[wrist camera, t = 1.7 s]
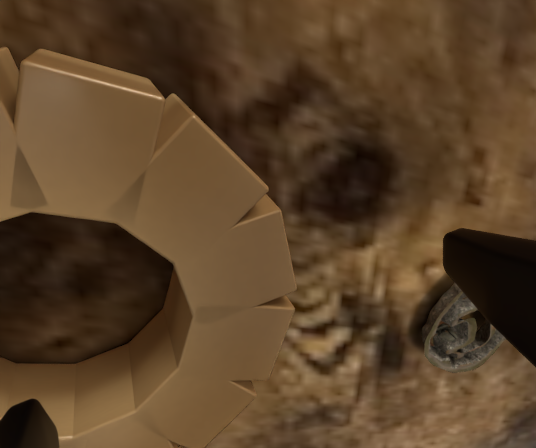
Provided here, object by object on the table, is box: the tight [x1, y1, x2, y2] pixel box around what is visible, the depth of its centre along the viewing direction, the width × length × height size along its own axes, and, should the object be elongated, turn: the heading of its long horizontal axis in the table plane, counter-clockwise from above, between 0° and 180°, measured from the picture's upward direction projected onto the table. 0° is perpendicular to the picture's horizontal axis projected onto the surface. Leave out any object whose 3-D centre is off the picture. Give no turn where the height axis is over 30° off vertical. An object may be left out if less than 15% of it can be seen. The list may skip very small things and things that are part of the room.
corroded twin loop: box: [422, 283, 506, 373], centre depth 19 cm, size 5×8×1 cm, turn 100°
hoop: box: [0, 47, 297, 448], centre depth 11 cm, size 12×12×3 cm
